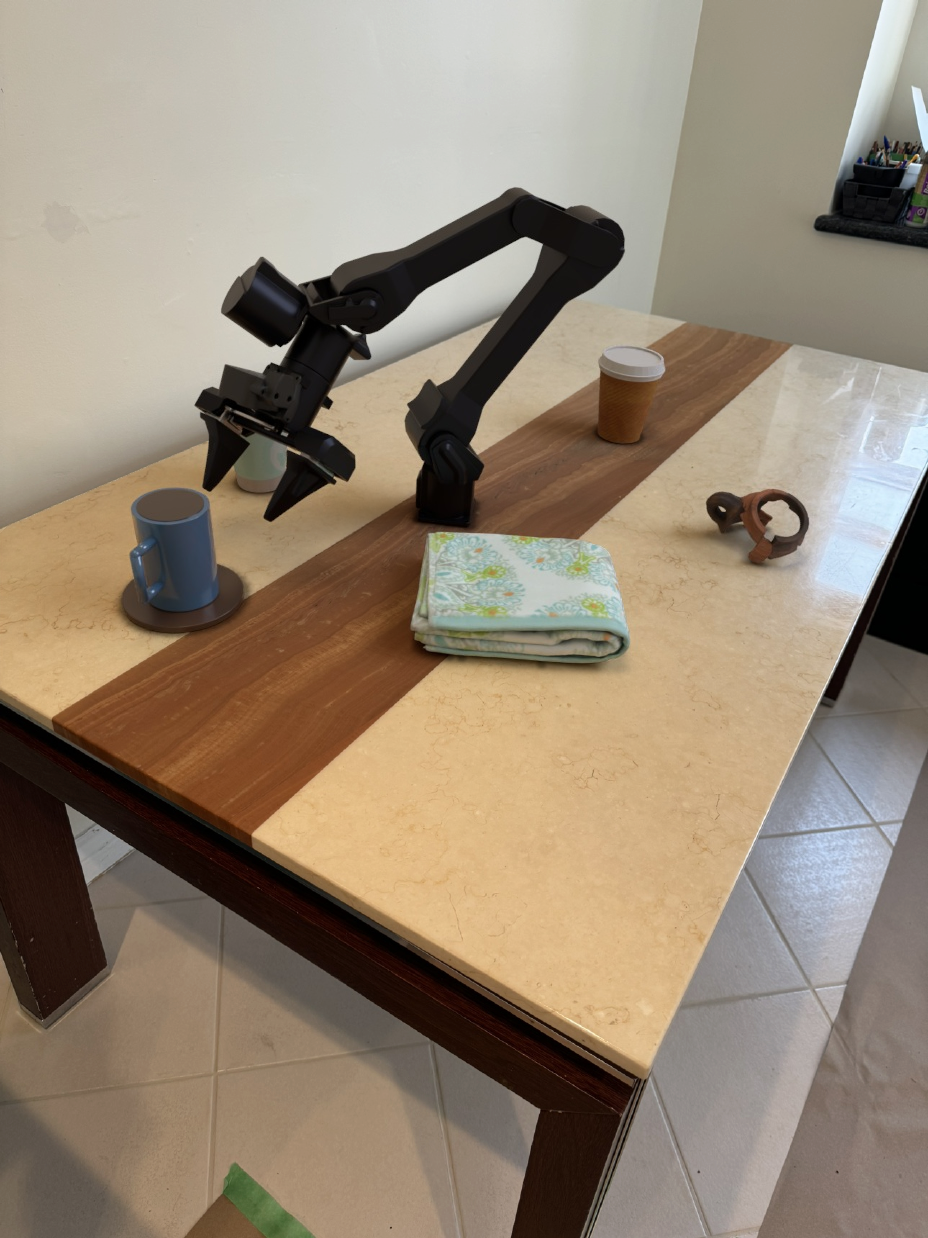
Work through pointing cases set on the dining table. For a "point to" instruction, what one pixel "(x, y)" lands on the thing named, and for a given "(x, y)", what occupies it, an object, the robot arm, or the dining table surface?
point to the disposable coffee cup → (626, 390)
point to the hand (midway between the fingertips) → (235, 504)
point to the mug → (174, 550)
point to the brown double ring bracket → (758, 520)
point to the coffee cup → (261, 464)
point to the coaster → (187, 620)
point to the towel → (519, 599)
